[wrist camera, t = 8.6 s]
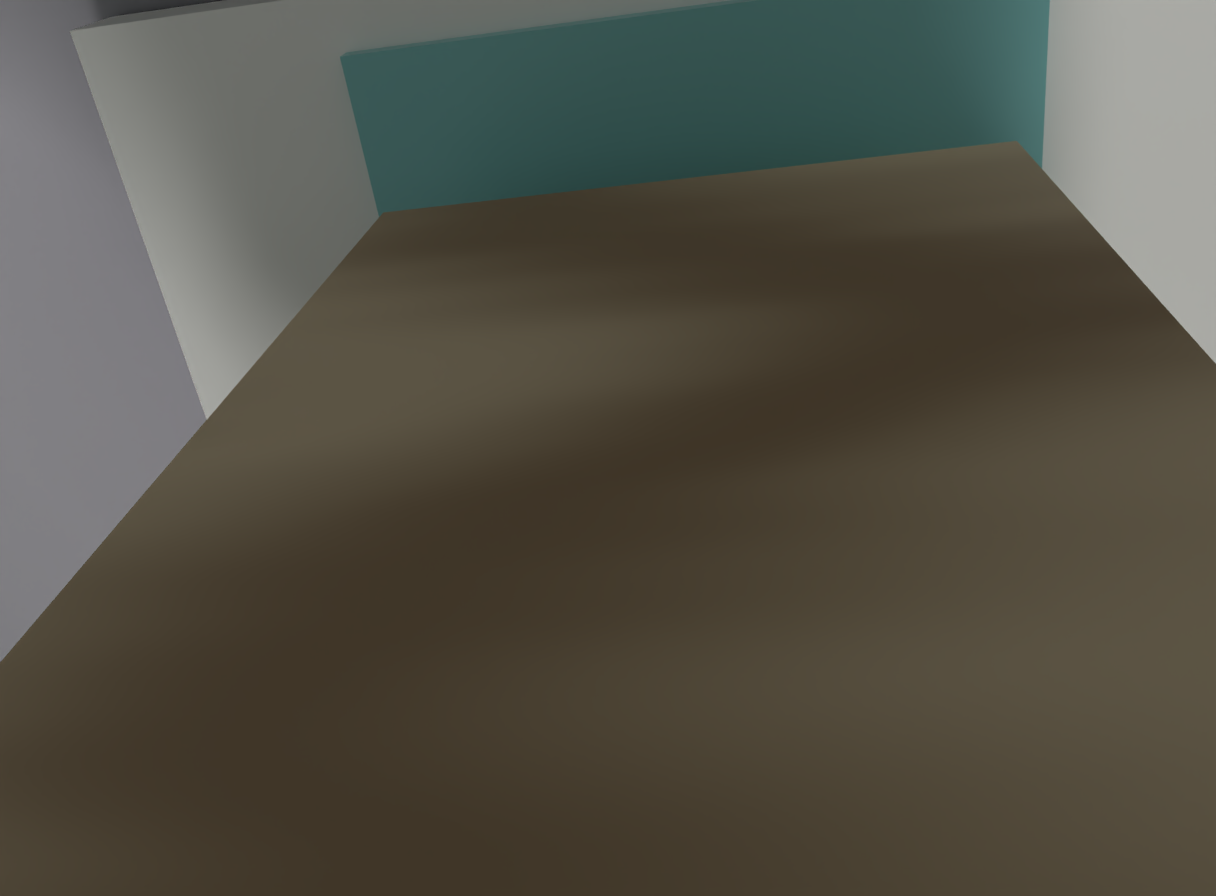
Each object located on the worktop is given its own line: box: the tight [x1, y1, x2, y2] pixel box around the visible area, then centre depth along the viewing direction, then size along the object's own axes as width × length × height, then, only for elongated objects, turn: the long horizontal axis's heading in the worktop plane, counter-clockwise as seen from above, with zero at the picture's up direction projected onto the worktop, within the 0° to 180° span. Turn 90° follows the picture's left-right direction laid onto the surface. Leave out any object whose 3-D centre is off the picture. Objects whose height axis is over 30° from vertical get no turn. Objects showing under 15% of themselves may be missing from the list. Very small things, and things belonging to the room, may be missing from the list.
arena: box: [70, 0, 1216, 419], centre depth 12 cm, size 15×14×4 cm
